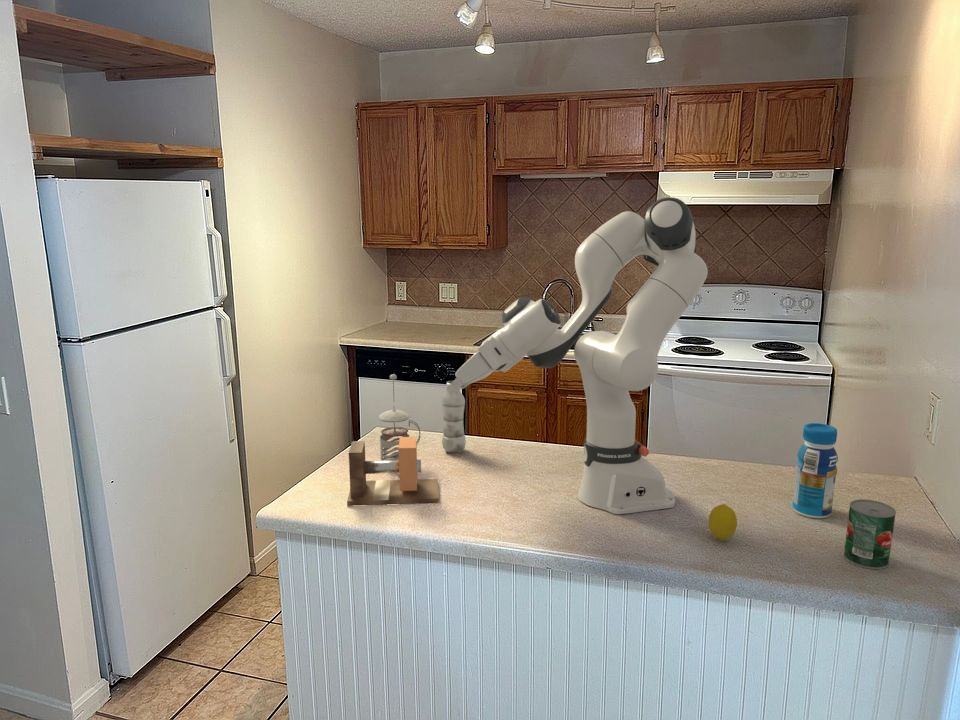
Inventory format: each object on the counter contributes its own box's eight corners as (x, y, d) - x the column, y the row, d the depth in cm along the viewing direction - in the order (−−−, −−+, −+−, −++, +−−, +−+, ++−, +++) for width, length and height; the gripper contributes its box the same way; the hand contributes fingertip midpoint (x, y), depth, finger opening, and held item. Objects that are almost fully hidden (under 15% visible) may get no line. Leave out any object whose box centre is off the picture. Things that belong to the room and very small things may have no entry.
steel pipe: (421, 469, 172) (420, 457, 171) (421, 474, 169) (420, 462, 168) (358, 471, 170) (357, 459, 170) (356, 476, 167) (356, 463, 167)
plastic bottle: (463, 456, 196) (462, 385, 192) (439, 454, 198) (438, 384, 193) (468, 448, 203) (467, 380, 198) (445, 446, 204) (444, 378, 200)
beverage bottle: (784, 504, 165) (792, 421, 161) (818, 503, 166) (828, 420, 161) (803, 520, 157) (812, 433, 152) (840, 519, 158) (850, 432, 153)
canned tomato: (840, 547, 145) (846, 497, 142) (883, 553, 142) (890, 501, 140) (847, 566, 137) (854, 513, 135) (893, 572, 135) (901, 518, 133)
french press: (377, 460, 193) (374, 370, 188) (420, 458, 195) (418, 369, 189) (376, 473, 184) (373, 379, 178) (421, 471, 185) (419, 378, 180)
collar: (417, 477, 175) (416, 436, 172) (416, 490, 167) (416, 447, 164) (400, 477, 174) (399, 437, 172) (399, 490, 166) (398, 448, 164)
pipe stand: (437, 483, 177) (437, 436, 175) (438, 503, 166) (437, 453, 163) (352, 485, 176) (350, 438, 173) (347, 506, 164) (345, 455, 162)
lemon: (720, 548, 144) (723, 511, 142) (701, 537, 149) (704, 501, 147) (741, 543, 146) (744, 507, 145) (722, 532, 151) (725, 497, 150)
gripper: (500, 340, 176) (458, 374, 179) (480, 344, 156) (433, 381, 160) (516, 360, 176) (473, 394, 179) (498, 366, 156) (450, 404, 159)
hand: (454, 388), depth 169 cm, fingers open, 8 cm apart
